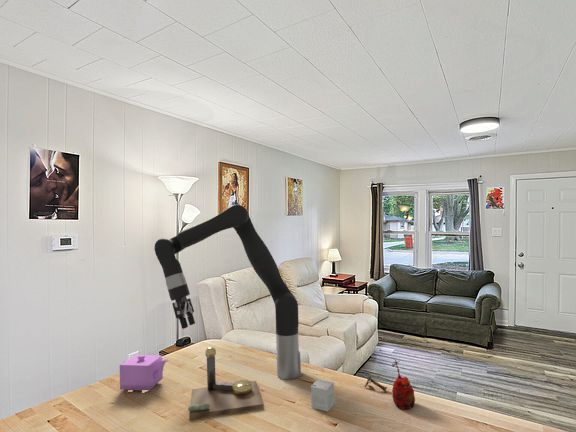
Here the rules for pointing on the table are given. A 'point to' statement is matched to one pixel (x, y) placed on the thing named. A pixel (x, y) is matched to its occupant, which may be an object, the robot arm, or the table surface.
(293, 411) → the table surface
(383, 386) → the wooden post with brackets
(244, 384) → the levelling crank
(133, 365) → the teapot
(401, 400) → the red rounded piece
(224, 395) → the walnut base
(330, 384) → the skincare box
